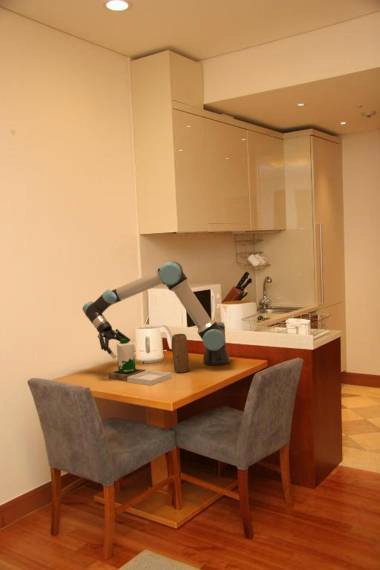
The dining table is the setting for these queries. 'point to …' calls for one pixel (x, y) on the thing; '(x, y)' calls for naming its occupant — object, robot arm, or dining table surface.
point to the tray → (149, 377)
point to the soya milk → (126, 357)
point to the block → (180, 353)
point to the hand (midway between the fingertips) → (124, 355)
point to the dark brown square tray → (123, 375)
